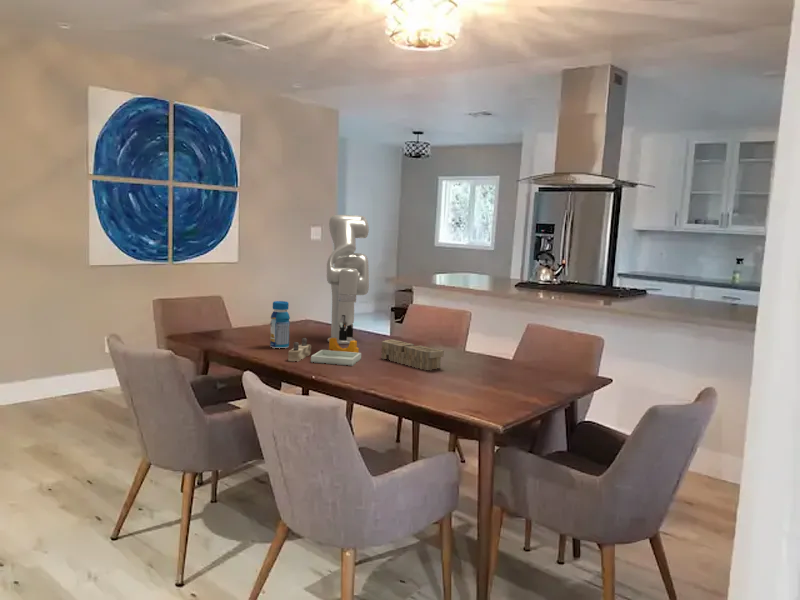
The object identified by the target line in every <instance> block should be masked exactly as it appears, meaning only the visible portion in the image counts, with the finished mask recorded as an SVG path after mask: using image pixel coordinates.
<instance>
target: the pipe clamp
mask: <svg viewBox="0 0 800 600" xmlns="http://www.w3.org/2000/svg"><path fill="white" fill-rule="evenodd" d="M328 338H329V343H328V345H329V346H328V350H332V351H344V352H356V353H360V351H359V349H360V347H358V341H357V340H355V339H354V340H355V341H354V340H353V341H350V343H349V344H348V345H347V347H344V348H343V347H341V345H340V344H338V343H337V338H330V337H328Z"/></svg>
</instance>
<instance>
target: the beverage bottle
mask: <svg viewBox="0 0 800 600" xmlns="http://www.w3.org/2000/svg"><path fill="white" fill-rule="evenodd" d="M272 310H273V311H272V313H271V316H270V319H271V320H270V322H269V324H270V334H269V335H270V338H269V342H270V343H269V346H270V348H271V347H272V349H275V348H279V349H280V348H285V349H288V348H289V347H290V330H291V329H290V328H291V326H290V325H291V322H290V319H291V316H290V313H289V312H288V310H289V301H283V300H275V301H273V302H272ZM280 350H281V349H280Z"/></svg>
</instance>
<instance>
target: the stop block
mask: <svg viewBox="0 0 800 600" xmlns="http://www.w3.org/2000/svg"><path fill="white" fill-rule="evenodd" d="M311 353H312V344H310V343H309V344H308V339H307V338H306V337H303V338H301V344H300V343H299V342H297V341H296V342H295V341H294V342H293V348H291V349H290V350H288V360H287V361H288V362H295V361H297V362H300V361H302V360H304V359H305V358H306V356H307V357H308V356H310V355H311ZM301 359H302V360H301Z"/></svg>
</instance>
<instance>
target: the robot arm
mask: <svg viewBox="0 0 800 600" xmlns="http://www.w3.org/2000/svg"><path fill="white" fill-rule="evenodd" d="M328 228H329V233H330V237H331V239H332V243H333V251H332V252H331V254H330V255H329V256H328V259H327V261H326V281H327V283H328V284H329V285H330V288H331V289H330V290H331V326H330V327H331V329H330V337H328V338H327V342H329V338H337V343H338V345H344V344H345V345H346V344H348V345H349V344H350V341H353V340H354V341H356V340H355V338H353V337H354V323H355V322H354V321H355V303H357V296H366V295H367V294H368V293H369V290H370V289H369V287H370V283H369V282H370V280H369V279H370V278H369V275H370V274H369V272H370V271H369V260H368V256H367V255H366V254H365V253H362V252H361V253H359V252H357V253H356V249H357V246H356V245H357V244H356V239H366V238H367V237H368V236H369V230H370V229H369V228H370V227H369V223H368V220H367V218H366V216H364V215H355V214H354V215H353V214H335V215H332V216H331V217H330V218H329V223H328Z"/></svg>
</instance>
